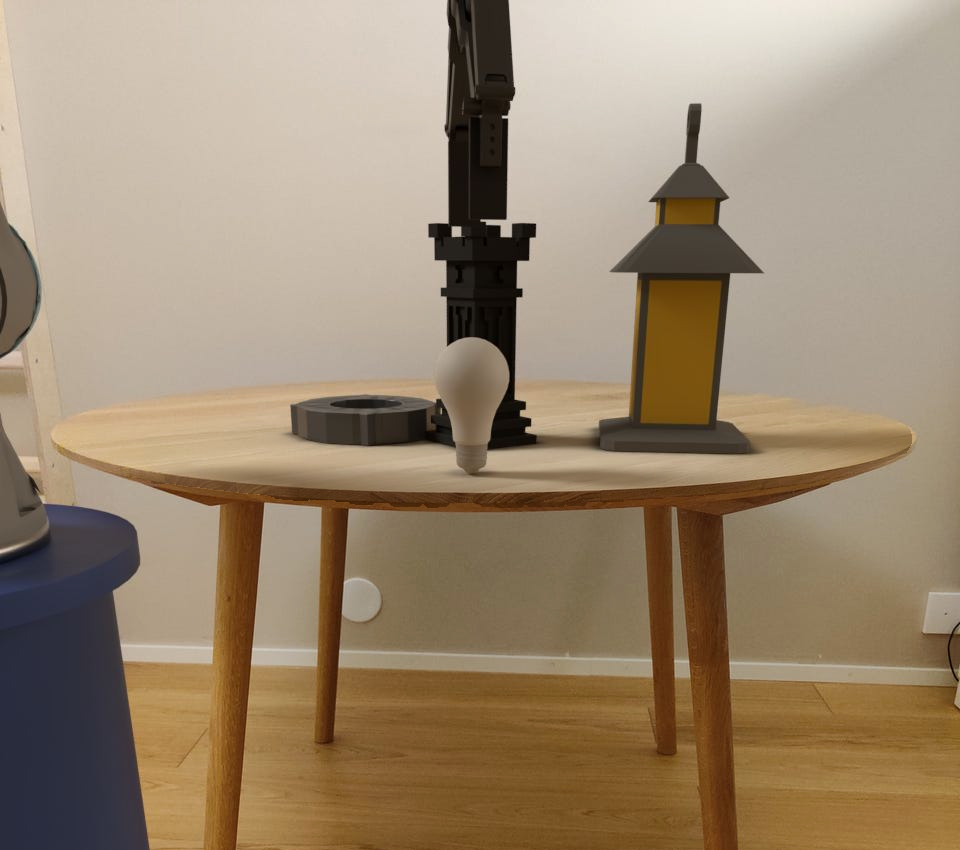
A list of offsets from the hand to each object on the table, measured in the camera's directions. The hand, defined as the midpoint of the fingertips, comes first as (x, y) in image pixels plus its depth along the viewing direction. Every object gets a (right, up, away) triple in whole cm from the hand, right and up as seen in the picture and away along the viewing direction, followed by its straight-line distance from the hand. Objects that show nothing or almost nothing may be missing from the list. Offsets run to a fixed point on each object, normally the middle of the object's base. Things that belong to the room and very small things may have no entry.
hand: (475, 224), depth 76 cm
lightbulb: (0, -19, +5) cm, 20 cm away
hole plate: (-11, -11, +24) cm, 29 cm away
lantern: (+20, -13, +21) cm, 32 cm away
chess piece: (0, -13, +20) cm, 24 cm away
